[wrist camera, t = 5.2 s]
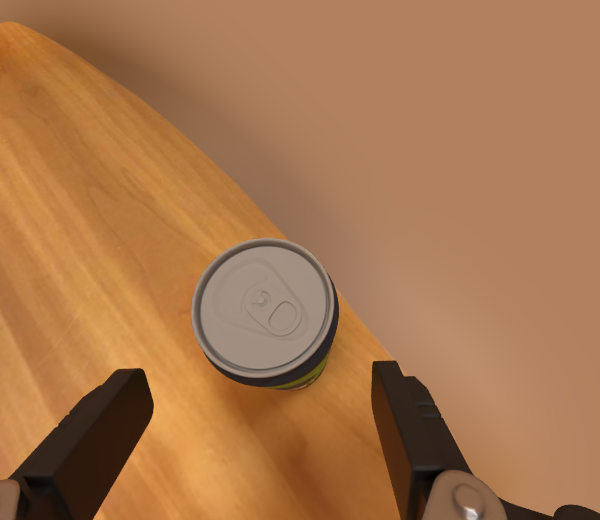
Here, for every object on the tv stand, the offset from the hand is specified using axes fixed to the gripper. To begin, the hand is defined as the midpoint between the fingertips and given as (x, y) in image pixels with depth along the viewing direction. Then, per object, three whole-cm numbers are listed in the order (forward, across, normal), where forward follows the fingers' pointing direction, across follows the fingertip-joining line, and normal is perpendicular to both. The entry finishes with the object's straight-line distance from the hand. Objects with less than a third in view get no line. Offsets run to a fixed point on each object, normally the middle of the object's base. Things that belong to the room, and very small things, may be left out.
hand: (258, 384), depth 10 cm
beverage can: (+13, 0, +9) cm, 16 cm away
